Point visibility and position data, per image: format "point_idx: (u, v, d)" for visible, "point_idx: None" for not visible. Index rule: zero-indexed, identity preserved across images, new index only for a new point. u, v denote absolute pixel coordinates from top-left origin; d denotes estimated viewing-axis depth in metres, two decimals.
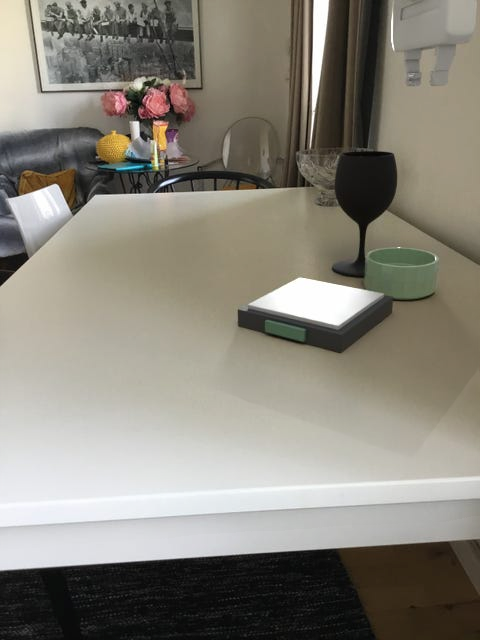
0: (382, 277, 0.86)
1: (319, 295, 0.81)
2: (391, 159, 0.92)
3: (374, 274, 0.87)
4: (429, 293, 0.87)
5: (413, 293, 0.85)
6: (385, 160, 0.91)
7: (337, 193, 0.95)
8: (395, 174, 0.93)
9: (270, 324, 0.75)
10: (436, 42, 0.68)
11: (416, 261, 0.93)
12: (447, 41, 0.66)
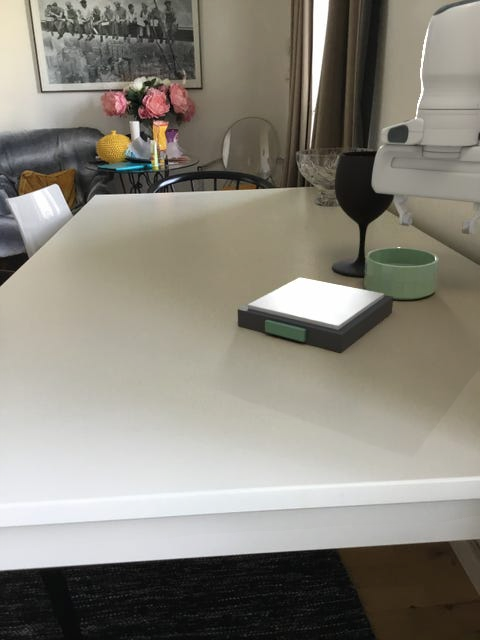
0: (382, 277, 0.86)
1: (319, 295, 0.81)
2: None
3: (374, 274, 0.87)
4: (429, 293, 0.87)
5: (413, 293, 0.85)
6: None
7: (337, 193, 0.95)
8: None
9: (270, 324, 0.75)
10: None
11: (416, 261, 0.93)
12: None
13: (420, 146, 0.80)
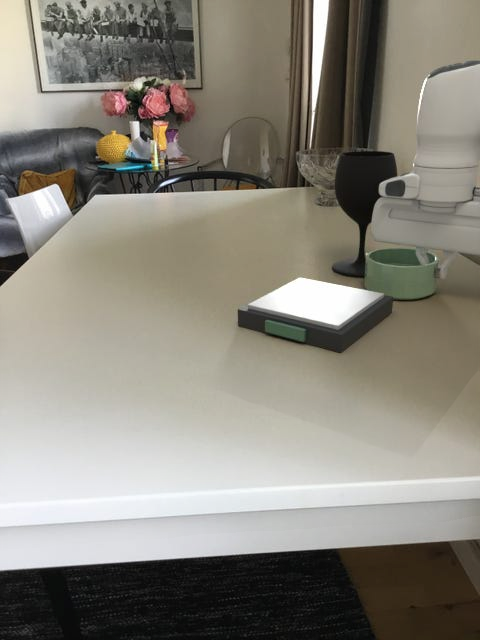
0: (382, 277, 0.86)
1: (319, 295, 0.81)
2: (391, 159, 0.92)
3: (374, 274, 0.87)
4: (429, 293, 0.87)
5: (413, 293, 0.85)
6: (385, 160, 0.91)
7: (337, 193, 0.95)
8: (395, 174, 0.93)
9: (270, 324, 0.75)
10: None
11: (416, 261, 0.93)
12: None
13: (417, 199, 0.83)
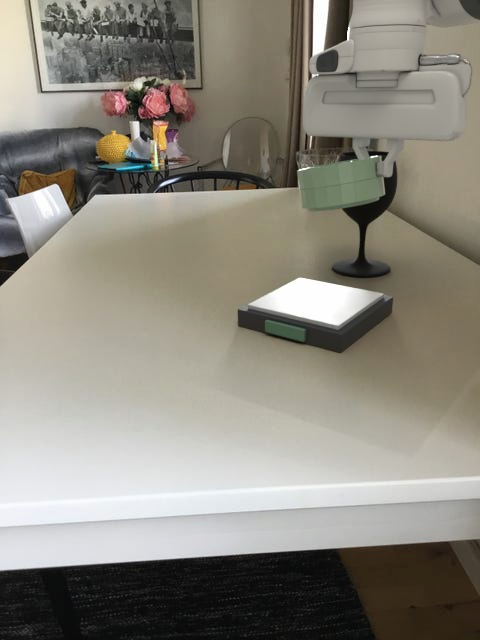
0: (314, 184, 0.72)
1: (319, 295, 0.81)
2: None
3: (306, 184, 0.73)
4: (375, 196, 0.72)
5: (354, 196, 0.71)
6: None
7: None
8: (395, 174, 0.93)
9: (270, 324, 0.75)
10: (430, 139, 0.65)
11: None
12: (451, 139, 0.64)
13: (353, 75, 0.68)
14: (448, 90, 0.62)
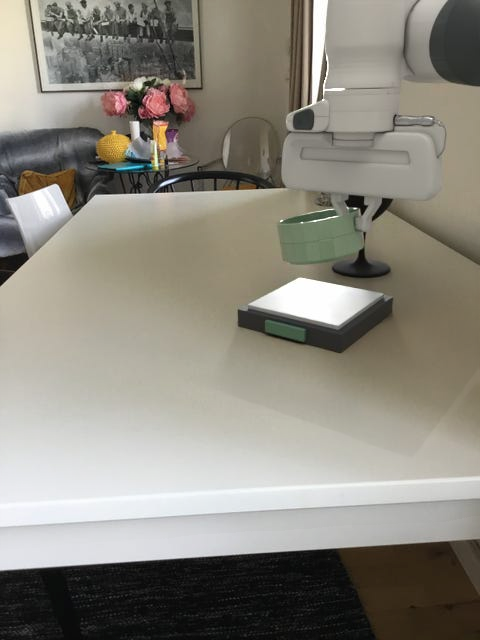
0: (293, 239, 0.72)
1: (319, 295, 0.81)
2: None
3: (285, 239, 0.73)
4: (354, 250, 0.72)
5: (332, 251, 0.71)
6: None
7: None
8: None
9: (270, 324, 0.75)
10: (406, 198, 0.65)
11: None
12: (427, 200, 0.64)
13: (330, 133, 0.68)
14: (423, 152, 0.62)
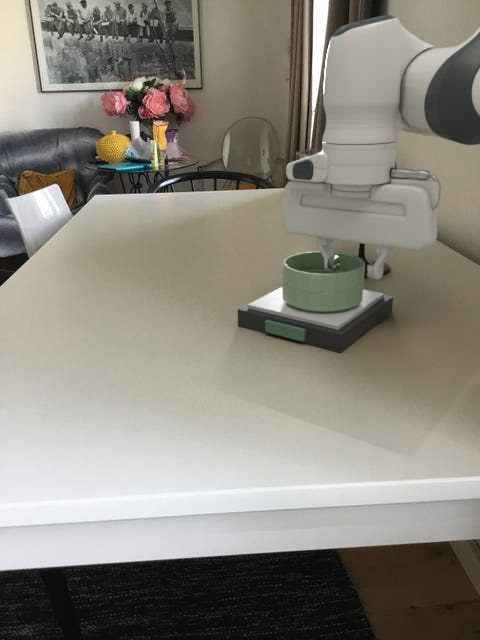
0: (297, 286, 0.74)
1: None
2: None
3: (289, 283, 0.75)
4: (353, 305, 0.75)
5: (333, 305, 0.73)
6: None
7: None
8: None
9: (270, 324, 0.75)
10: (403, 248, 0.68)
11: (343, 267, 0.81)
12: None
13: (328, 183, 0.70)
14: (418, 206, 0.65)
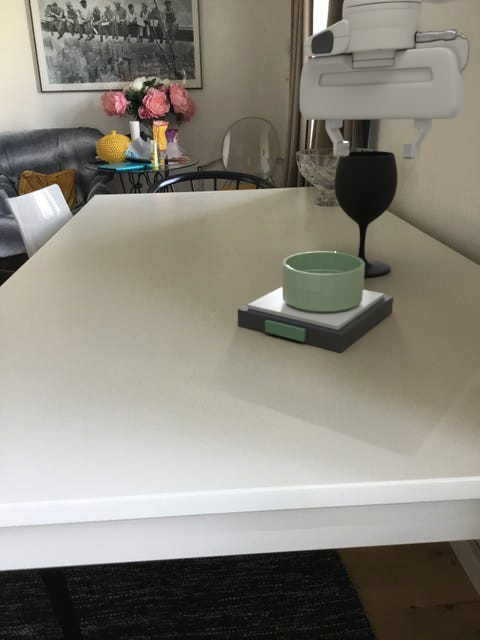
0: (297, 286, 0.74)
1: None
2: (391, 159, 0.92)
3: (289, 283, 0.75)
4: (353, 305, 0.75)
5: (333, 305, 0.73)
6: (385, 160, 0.91)
7: (337, 193, 0.95)
8: (395, 174, 0.93)
9: (270, 324, 0.75)
10: (429, 117, 0.65)
11: (343, 267, 0.81)
12: (450, 117, 0.64)
13: (349, 56, 0.67)
14: (446, 67, 0.62)
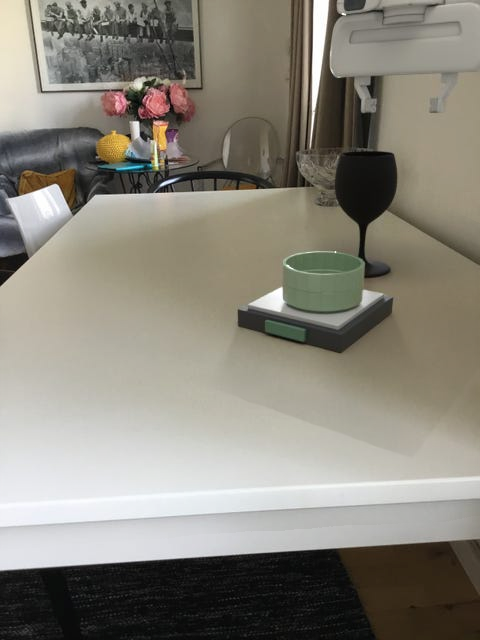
0: (297, 286, 0.74)
1: None
2: (391, 159, 0.92)
3: (289, 283, 0.75)
4: (353, 305, 0.75)
5: (333, 305, 0.73)
6: (385, 160, 0.91)
7: (337, 193, 0.95)
8: (395, 174, 0.93)
9: (270, 324, 0.75)
10: (456, 70, 0.68)
11: (343, 267, 0.81)
12: (477, 70, 0.67)
13: (380, 13, 0.71)
14: (474, 20, 0.65)
